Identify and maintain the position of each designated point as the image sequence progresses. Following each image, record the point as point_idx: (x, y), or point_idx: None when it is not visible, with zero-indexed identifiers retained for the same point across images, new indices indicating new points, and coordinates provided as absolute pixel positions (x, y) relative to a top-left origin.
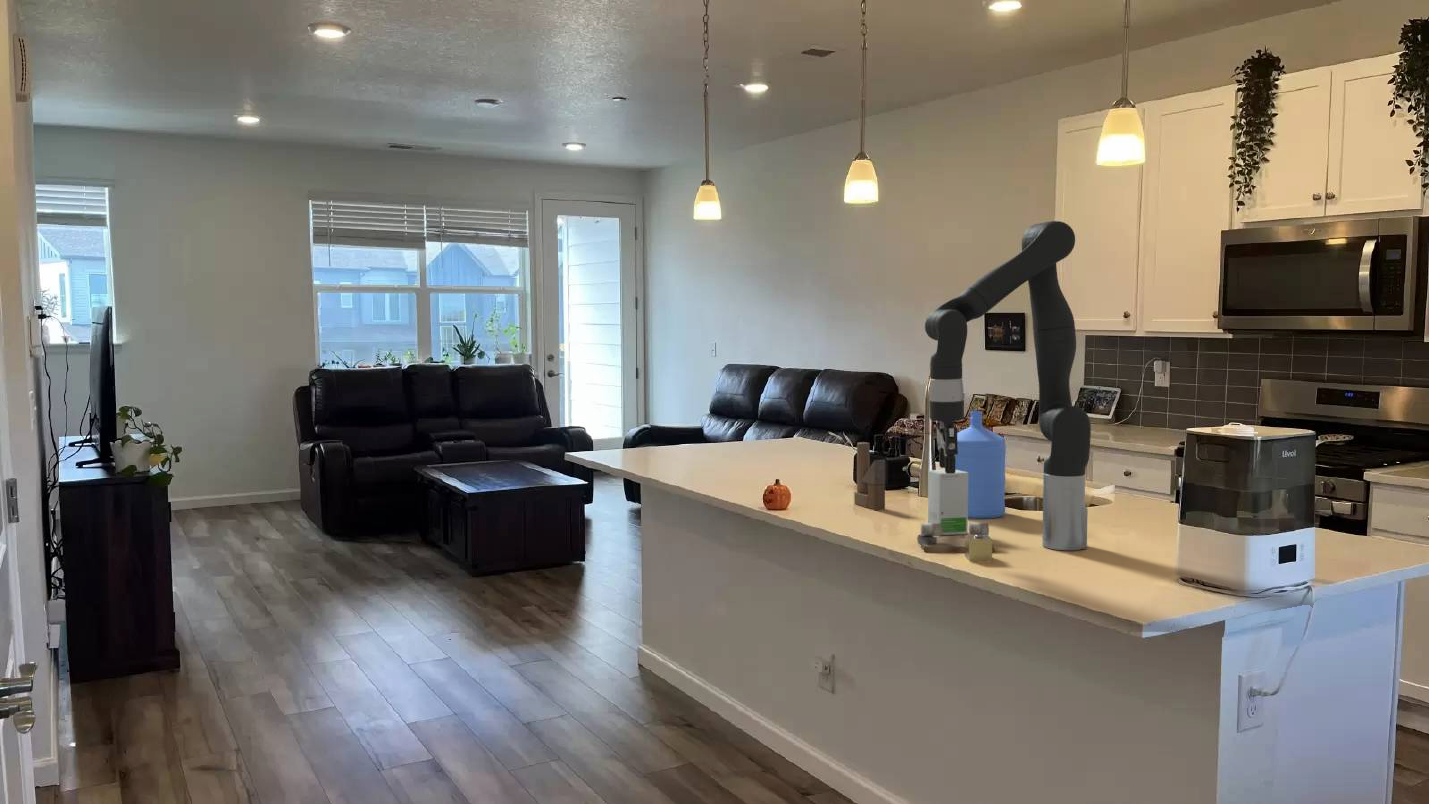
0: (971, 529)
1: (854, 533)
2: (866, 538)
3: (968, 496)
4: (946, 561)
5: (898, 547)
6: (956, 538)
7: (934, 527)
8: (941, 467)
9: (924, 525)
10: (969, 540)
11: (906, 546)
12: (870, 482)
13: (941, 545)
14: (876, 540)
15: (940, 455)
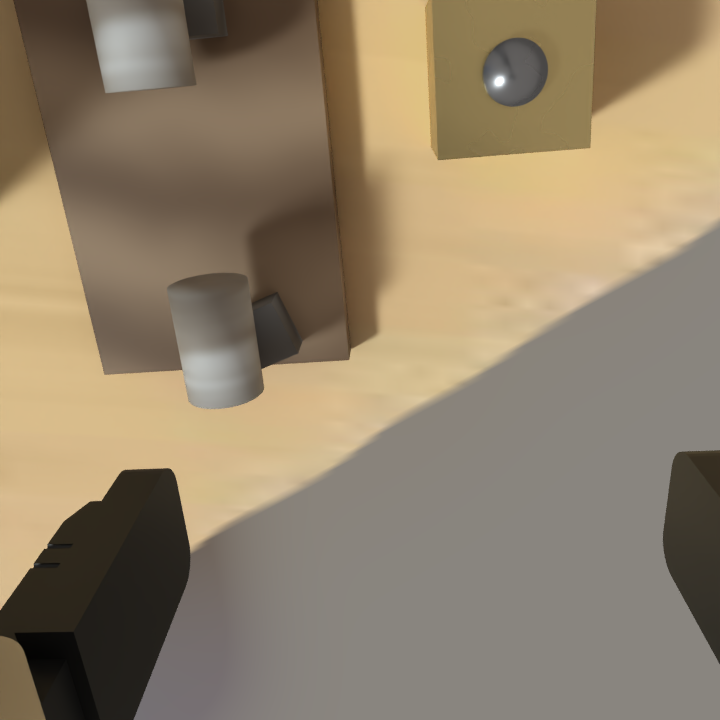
0: (191, 84)
1: None
2: None
3: None
4: (554, 258)
5: (261, 456)
6: (105, 164)
7: (243, 332)
8: (186, 551)
9: (239, 392)
10: (587, 145)
11: (233, 420)
12: None
13: (306, 268)
14: None
15: (138, 700)
